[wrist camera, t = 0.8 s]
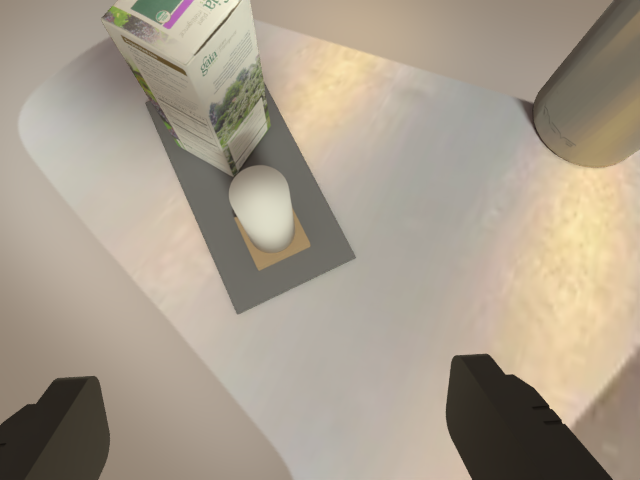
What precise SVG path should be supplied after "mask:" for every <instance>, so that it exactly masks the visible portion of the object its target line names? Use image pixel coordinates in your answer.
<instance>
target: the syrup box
mask: <svg viewBox="0 0 640 480" xmlns="http://www.w3.org/2000/svg"><path fill="white" fill-rule="evenodd" d="M101 21H102V23H103V25H104V26H105V28H106V30H107V31H108V33H109V34H110V36H111V38H112V39H113V41H114V43H115V45H116V46H117V48H118V49H119V51H120V53H121V54H122V56H123V57H124V59H125V61H126V62H127V64H128V65H129V67H130V69H131V70H132V72H133V73H134V75H135V77H136V78H137V80H138V82H139V83H140V85H141V86H142V88H143V90H144V91H145V93H146V95H147V96H148V98H149V99H150V101H151V102H152V104H153V106H154V107H155V109H156V111H157V112H158V114H159V115H160V117H161V119H162V120H163V122H164V124H165V125H166V127H167V129H168V130H169V132H170V133H171V135H172V137H173V138H174V140H175V142H176V143H177V145H178V146H179V147H181V148H183V149H185V150H186V151H188V152H190V153H192V154H194V155H195V156H197V157H199V158H201V159H202V160H204V161H206V162H208V163H209V164H211V165H213V166H215V167H216V168H218V169H220V170H222V171H223V172H225V173H227V174H228V175H230V176H232V177H235V176H236V175H237V173H238V172H239V170H240V169H241V168H242V166H243V165H244V163H245V162H246V160H247V159H248V158H249V156H250V155H251V154H252V152H253V151H254V149H255V148H256V146H257V145H258V144H259V142H260V141H261V139H262V138H263V137H264V135H265V134H266V133H267V131H268V130H269V128H270V126H271V124H270V117H269V112H268V106H267V100H266V94H265V87H264V82H263V75H262V69H261V63H260V57H259V51H258V46H257V40H256V33H255V27H254V22H253V16H252V10H251V3H250V0H117V1H116V3H115V4H114V5H113V6H112V7H111V8H110V9H109V10H108V12H107V13H106V14H105V15H104V16H103V17H102V18H101Z"/></svg>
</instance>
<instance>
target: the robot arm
mask: <svg viewBox="0 0 640 480" xmlns="http://www.w3.org/2000/svg"><path fill="white" fill-rule="evenodd" d="M533 118H534V123H535V126H536V130H537V132H538V133H539V135H540V137H541V139H542V140H543V142H544V143H545V144H546V145H547V146H548V147H549V149H551V150H552V151H553V152H554V153H555V154H557V155H558V156H559V157H561V158H563V159H565V160H567V161H568V162H571V163H574V164H576V165H579V166H584V167H591V168H599V167H607V166H611V165H615V164H617V163H619V162H621V161H623V160H625V159H626V158H628V157H629V156H631V155H632V154H634V153H635V152H637V151H638V150H640V0H613V2H612V3H611V4H610V5H609V7H608V8H607V9H606V10H605V11H604V13H603V14H602V15H601V16H600V18H599V19H598V20H597V21H596V22H595V24H594V25H593V26H592V27H591V28H590V30H589V31H588V32H587V33H586V35H585V36H584V37H583V38H582V40H581V41H580V42H579V43H578V44H577V46H576V47H575V48H574V49H573V50H572V52H571V53H570V54H569V55H568V57H567V58H566V59H565V60H564V61H563V63H562V64H561V65H560V67H558V69H557V70H556V71H555V72H554V74H553V75H552V76H551V77H550V79H549V80H548V81H547V82H546V84H545V85H544V86H543V87H542V89H541V90H540V91H539V92H538V95H537V97H536V99H535V102H534V107H533ZM446 421H447V426H448V430H449V434H450V436H451V439H452V441H453V443H454V445H455V447H456V449H457V450H458V452H459V454H460V456H461V458H462V460H463V462H464V464H465V466H466V468H467V470H468V472H469V474H470V476H471V478H472V480H613V479H612V478H611V477H610V476H609V474H608V473H607V472H606V471H605V470H604V469H603V467H602V466H601V465H600V464H599V463H598V462H597V460H596V459H595V458H594V457H593V456H592V455H591V454H590V452H589V451H588V450H587V449H586V448H585V447H584V445H583V444H582V443H581V442H580V441H579V440H578V438H577V437H576V436H575V435H574V434H573V433H572V432H571V430H570V429H569V428H568V427H567V426H566V425H565V424H562V420H561V419H560V418H559V416H558V415H557V414H556V413H555V412H554V411H553V409H550V408H549V405H548V404H547V403H546V401H545V400H544V399H543V398H542V397H541V396H540V394H539V393H538V392H537V391H536V390H535V389H534V388H533V387H531V386H530V385H528V384H527V383H525V382H524V381H522V380H521V379H519V378H518V377H516V376H515V375H513V374H511V375H505V373H504V372H503V371H502V370H501V368H500V367H499V366H498V365H497V364H496V362H495V361H494V360H493V359H492V357H491V356H490V355H488V354H473V355H456V356H454V357H453V359H452V362H451V369H450V378H449V386H448V395H447V403H446ZM109 445H110V433H109V428H108V423H107V417H106V412H105V407H104V402H103V397H102V393H101V387H100V383H99V380H98V379H97V377H95V376H85V377H69V378H57V379H55V380H54V381H53V382H52V383H51V385H50V386H49V387H48V389H47V390H46V391H45V393H44V394H43V395H42V397H41V398H40V399H39V401H38V402H37V403H36V404H27V405H26V406H24V407H23V408H22V409H20V410H19V411H18V412H16V413H15V414H14V415H12V416H11V417H10V418H8V419H7V420H6V421H4V422H3V423H2V424H1V425H0V480H98V479H99V476H100V474H101V472H102V470H103V468H104V465H105V463H106V460H107V457H108V452H109Z"/></svg>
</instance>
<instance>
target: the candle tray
mask: <svg viewBox="0 0 640 480" xmlns="http://www.w3.org/2000/svg"><path fill="white" fill-rule="evenodd" d="M263 82H264V81H263ZM264 87H265V94H266V100H267V106H268V112H269V117H270V124H271V126H270V128H269V130H268V131H267V133H266V134H265V135H264V137H263V138H262V139H261V141H260V142H259V144H258V145H257V146H256V148H255V149H254V151H253V152H252V154H251V155H250V156H249V158H248V159H247V160H246V162H245V163H244V165H243V166H242V168H241V169H240V170H239V172H238V173H237V175H236V176H235V177H232V176H230V175H228V174H227V173H225V172H223V171H222V170H220V169H218V168H216V167H215V166H213V165H211V164H209V163H208V162H206V161H204V160H202V159H201V158H199V157H197V156H195V155H194V154H192V153H190V152H188V151H186V150H185V149H183V148H181V147H179V146H178V145H177V143H176V142H175V140H174V138H173V137H172V135H171V133H170V132H169V130H168V129H167V127H166V125H165V124H164V122H163V120H162V119H161V117H160V115H159V114H158V112H157V111H156V109H155V107H154V106H153V104H152V102H151V101H149V102H146V103H145V104H146V106H147V108H148V111H149V113H150V115H151V117H152V120H153V122H154V124H155V127H156V129H157V131H158V133H159V136H160V138H161V140H162V143H163V145H164V147H165V150H166V152H167V154H168V156H169V159H170V161H171V163H172V166H173V168H174V170H175V173H176V175H177V177H178V179H179V182H180V184H181V186H182V189H183V191H184V193H185V196H186V198H187V200H188V202H189V205H190V207H191V209H192V212H193V214H194V216H195V219H196V221H197V223H198V225H199V228H200V230H201V232H202V235H203V237H204V239H205V241H206V244H207V246H208V248H209V251H210V253H211V255H212V258H213V260H214V262H215V264H216V267H217V269H218V271H219V274H220V276H221V278H222V281H223V283H224V285H225V287H226V290H227V292H228V294H229V297H230V299H231V301H232V304H233V306H234V308H235V310H236V313H237V314H240V313H242V312H244V311H246V310H248V309H250V308H253V307H255V306H257V305H259V304H261V303H263V302H265V301H267V300H269V299H271V298H273V297H275V296H278V295H280V294H282V293H284V292H286V291H288V290H290V289H292V288H294V287H296V286H298V285H300V284H302V283H305V282H307V281H309V280H311V279H313V278H315V277H317V276H319V275H321V274H323V273H325V272H327V271H330V270H332V269H334V268H336V267H338V266H340V265H342V264H344V263H346V262H348V261H350V260H352V259H354V258H356V257H355V255H354V253H353V251H352V249H351V247H350V245H349V243H348V241H347V239H346V237H345V236H344V234H343V232H342V230H341V228H340V226H339V224H338V222H337V220H336V218H335V217H334V215H333V213H332V211H331V209H330V207H329V205H328V203H327V201H326V199H325V197H324V196H323V194H322V192H321V190H320V188H319V186H318V184H317V182H316V180H315V178H314V177H313V175H312V173H311V171H310V169H309V167H308V165H307V163H306V161H305V159H304V157H303V156H302V154H301V152H300V150H299V148H298V146H297V144H296V142H295V140H294V138H293V137H292V135H291V133H290V131H289V129H288V127H287V125H286V123H285V121H284V119H283V117H282V116H281V114H280V112H279V110H278V108H277V106H276V104H275V102H274V100H273V98H272V97H271V95H270V93H269V91H268V89H267V87H266V85H265V83H264Z"/></svg>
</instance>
